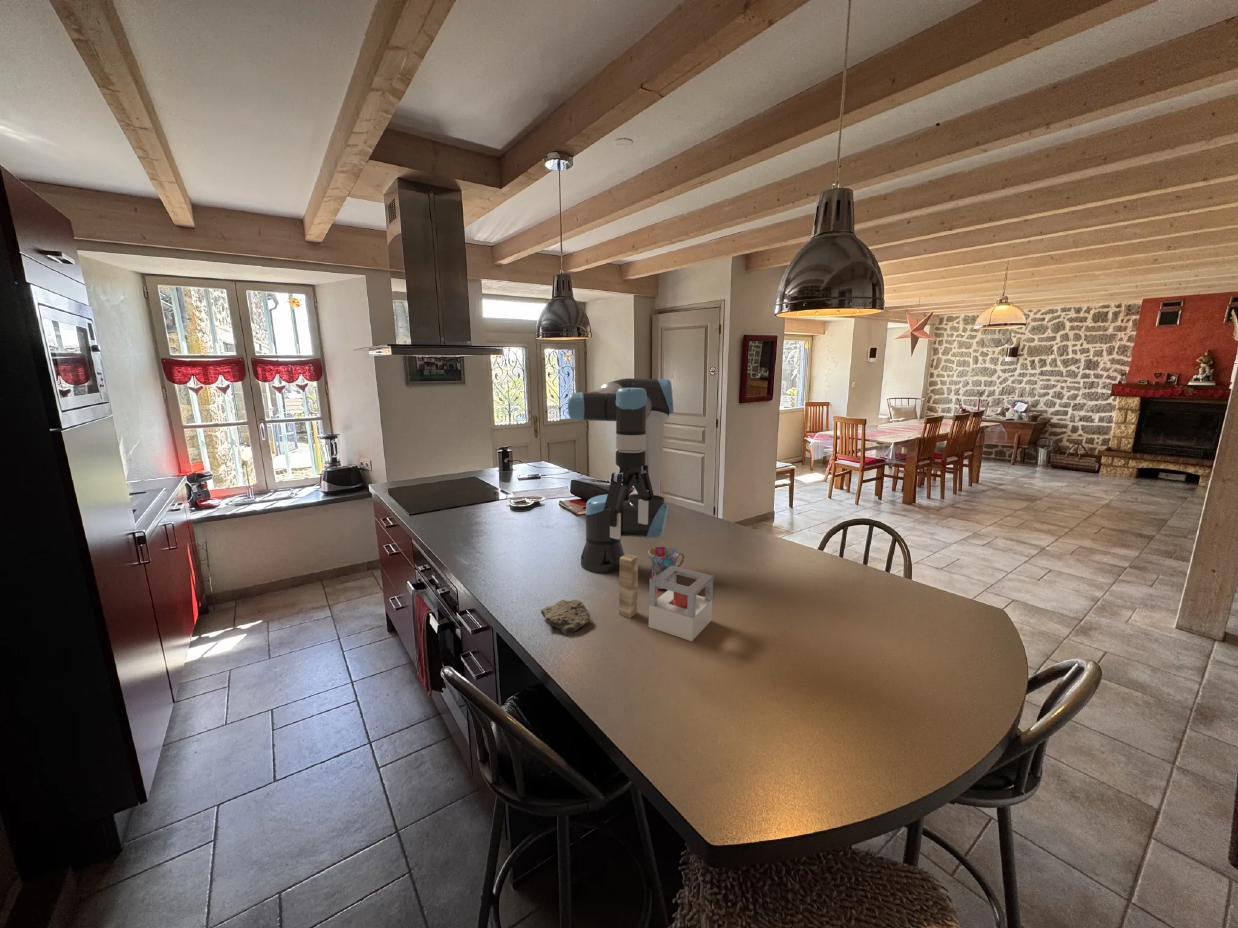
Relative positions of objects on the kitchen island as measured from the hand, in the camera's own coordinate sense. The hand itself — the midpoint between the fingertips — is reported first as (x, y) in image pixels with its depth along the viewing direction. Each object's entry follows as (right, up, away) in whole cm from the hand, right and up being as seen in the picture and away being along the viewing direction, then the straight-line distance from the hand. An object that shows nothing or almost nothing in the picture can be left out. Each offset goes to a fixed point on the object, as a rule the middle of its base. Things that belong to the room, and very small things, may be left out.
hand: (629, 530), depth 128 cm
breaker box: (+13, -24, -1) cm, 27 cm away
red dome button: (+13, -22, -1) cm, 26 cm away
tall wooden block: (0, -23, +4) cm, 23 cm away
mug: (+12, -20, +22) cm, 32 cm away
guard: (+13, -18, -2) cm, 22 cm away
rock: (-16, -24, -1) cm, 29 cm away
